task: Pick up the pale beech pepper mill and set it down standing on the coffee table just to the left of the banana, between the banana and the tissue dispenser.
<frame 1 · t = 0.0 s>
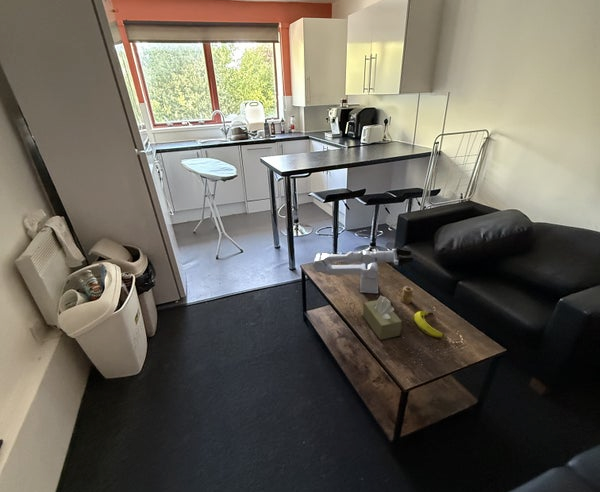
hand: (411, 256, 161), 22 cm above the table, tool horizontal, fingers open, 7 cm apart
pepper mill: (406, 301, 164), on the table
tissue dispenser: (380, 325, 148), on the table
banana: (430, 326, 147), on the table
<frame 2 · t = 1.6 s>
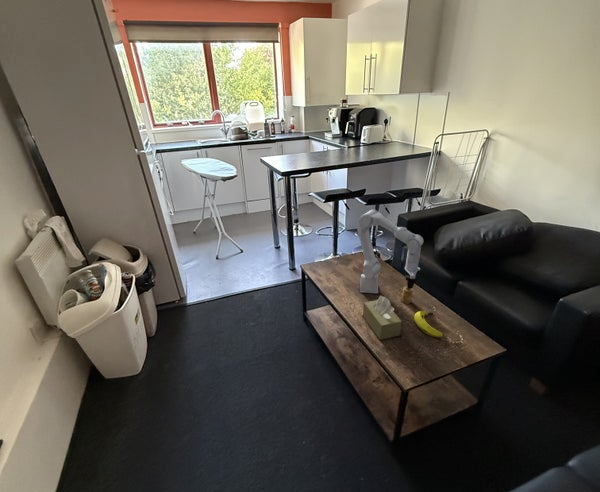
hand: (408, 283, 159), 10 cm above the table, tool pointing down, fingers open, 7 cm apart
nothing on the table moved.
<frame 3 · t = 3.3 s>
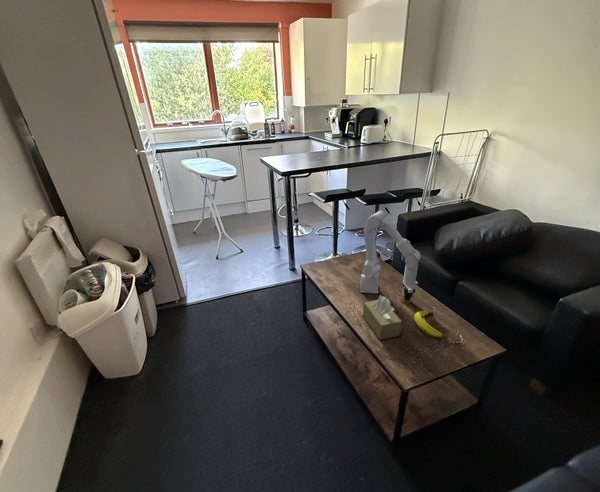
hand: (406, 297, 163), 2 cm above the table, tool pointing down, fingers closed on pepper mill, 4 cm apart
pepper mill: (406, 300, 164), on the table, touching gripper
everything else where it was.
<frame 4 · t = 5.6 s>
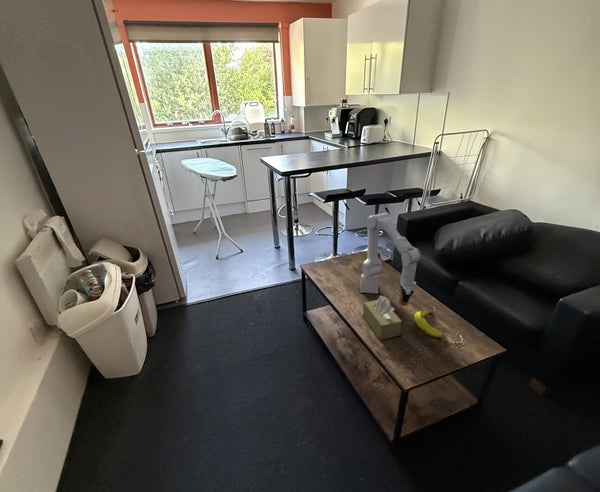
hand: (404, 299, 150), 9 cm above the table, tool pointing down, fingers closed on pepper mill, 4 cm apart
pepper mill: (403, 303, 151), point 7 cm above the table, touching gripper
everything else where it was.
when the fingers open (2 cm above the table, at t = 8.1 s): pepper mill stays where it is, on the table.
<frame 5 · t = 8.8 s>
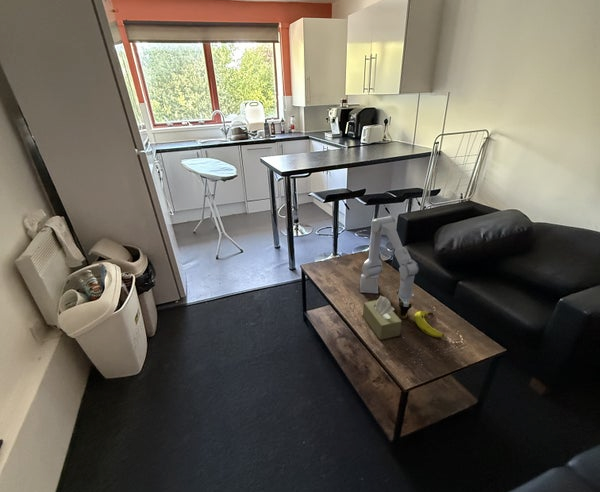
hand: (402, 310, 152), 3 cm above the table, tool pointing down, fingers open, 7 cm apart
pepper mill: (401, 315, 154), on the table
everything else where it was.
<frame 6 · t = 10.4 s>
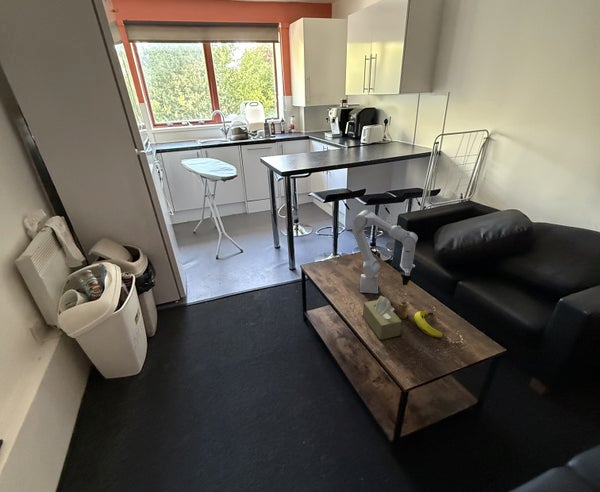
hand: (404, 280, 162), 10 cm above the table, tool pointing down, fingers open, 7 cm apart
nothing on the table moved.
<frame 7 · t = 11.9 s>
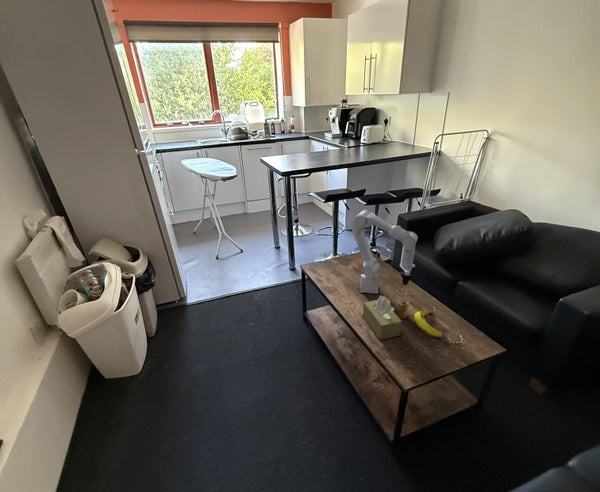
hand: (404, 280, 162), 10 cm above the table, tool pointing down, fingers open, 7 cm apart
nothing on the table moved.
at the end: pepper mill inside the target area (0.2 cm from its centre), on the table; pepper mill tilted 0°; pepper mill 13.8 cm from the banana (horizontally) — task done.
